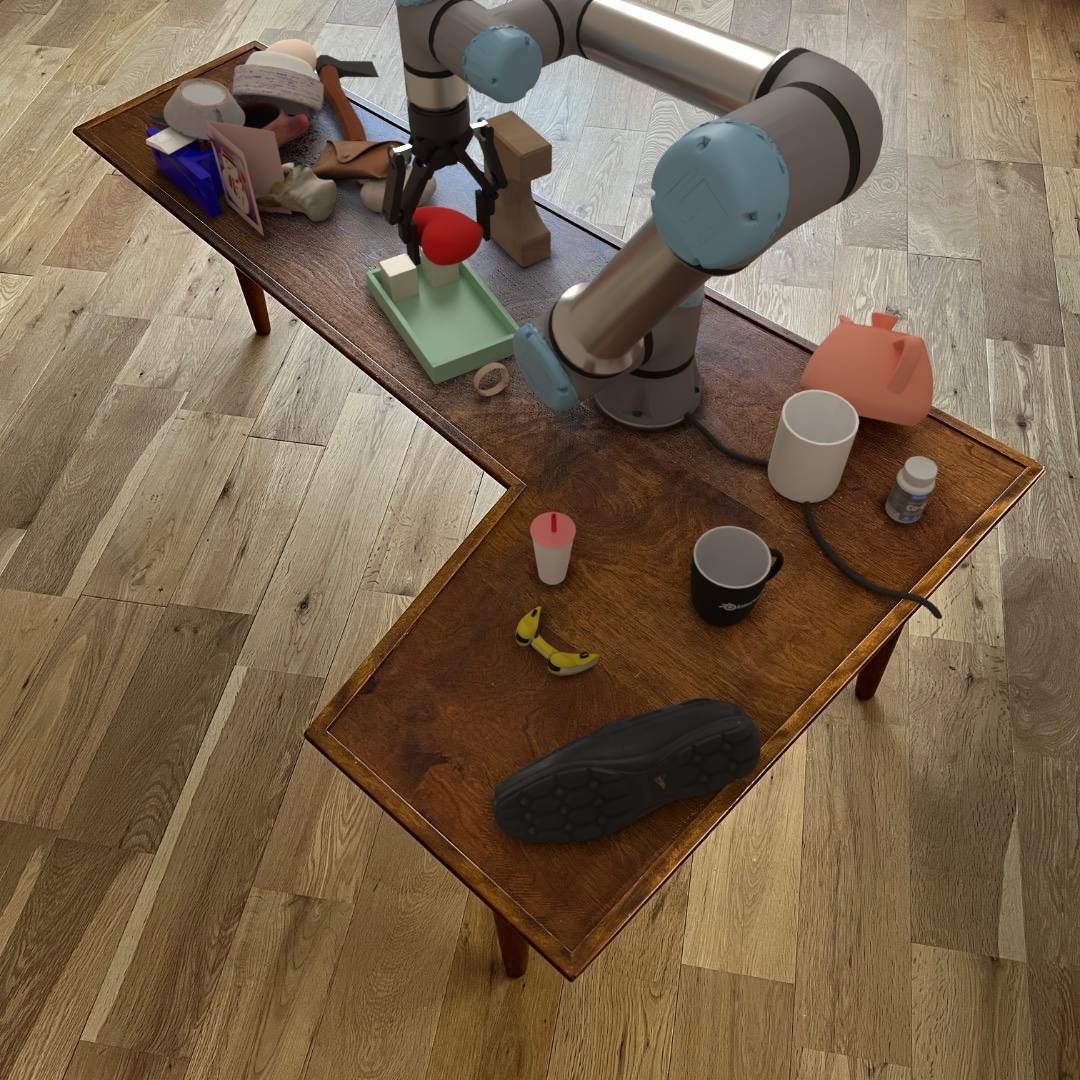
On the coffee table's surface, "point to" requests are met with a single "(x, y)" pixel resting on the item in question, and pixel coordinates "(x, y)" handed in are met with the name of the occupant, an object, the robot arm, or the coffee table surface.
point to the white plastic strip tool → (169, 140)
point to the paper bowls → (279, 83)
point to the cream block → (439, 272)
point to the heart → (446, 235)
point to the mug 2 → (812, 445)
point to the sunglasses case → (354, 159)
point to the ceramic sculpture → (301, 192)
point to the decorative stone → (376, 188)
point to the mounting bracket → (192, 173)
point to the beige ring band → (499, 387)
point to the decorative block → (519, 189)
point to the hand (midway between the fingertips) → (449, 247)
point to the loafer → (627, 771)
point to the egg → (295, 50)
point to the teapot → (874, 370)
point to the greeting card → (246, 167)
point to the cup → (552, 545)
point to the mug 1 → (730, 574)
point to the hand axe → (335, 96)
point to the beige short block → (399, 278)
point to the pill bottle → (911, 489)
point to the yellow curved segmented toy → (557, 660)
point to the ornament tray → (449, 323)
